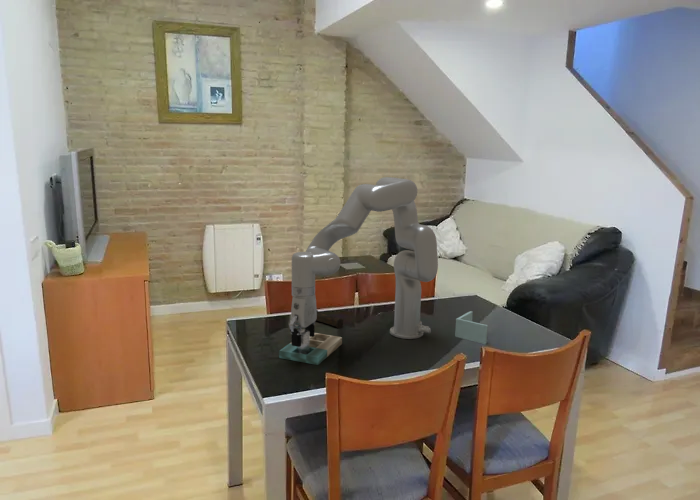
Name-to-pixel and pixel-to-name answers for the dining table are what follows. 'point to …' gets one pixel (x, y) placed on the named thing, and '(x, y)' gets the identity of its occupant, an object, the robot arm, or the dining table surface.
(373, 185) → the robot arm
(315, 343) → the hole board
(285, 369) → the dining table surface
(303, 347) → the peg
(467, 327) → the right angle wall
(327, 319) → the hand tool
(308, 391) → the dining table surface
